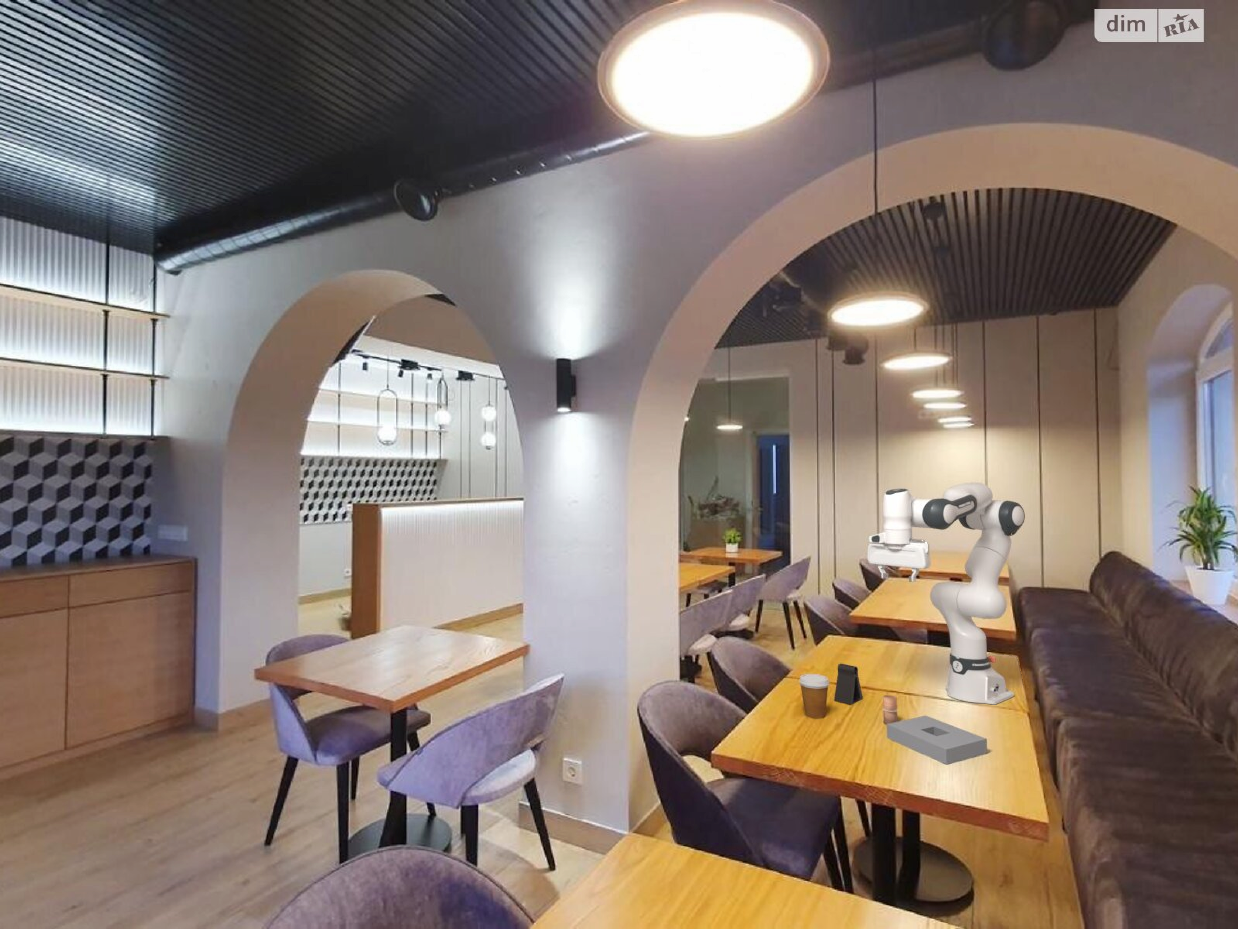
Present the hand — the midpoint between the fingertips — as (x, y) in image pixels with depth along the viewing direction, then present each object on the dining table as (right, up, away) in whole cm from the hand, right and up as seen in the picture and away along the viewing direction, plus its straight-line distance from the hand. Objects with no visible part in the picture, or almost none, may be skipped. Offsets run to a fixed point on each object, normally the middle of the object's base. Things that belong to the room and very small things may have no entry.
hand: (898, 580), depth 210 cm
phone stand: (-12, -44, +11) cm, 47 cm away
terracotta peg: (-7, -43, -11) cm, 45 cm away
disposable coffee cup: (-28, -44, -2) cm, 52 cm away
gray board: (-2, -42, -28) cm, 50 cm away
